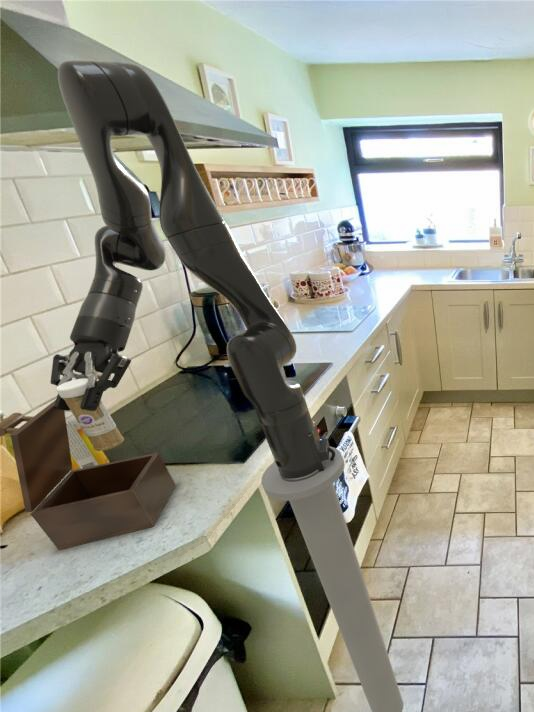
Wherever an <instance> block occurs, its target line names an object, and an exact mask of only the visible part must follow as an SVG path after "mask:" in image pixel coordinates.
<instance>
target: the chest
mask: <svg viewBox="0 0 534 712" xmlns="http://www.w3.org/2000/svg"><path fill="white" fill-rule="evenodd" d="M109 462H110V463H106V464H101V465H96V466H91V467H86V468H81V469H77V470H72V471H70V472H69V473H68V474H67V475H66V476H65V477H64V478H63V479H62V480H61V482H60V483H59V484H58V485H57V486H56V487H55V488H54V489H53V490H52V491H51V492H50V493H49V494H48V495H47V496H46V498H45V499H44V500H43V501H42V502H41V503H40V504H39V505H38V506H37V507H36V508H35V509H34V510H33V511H32V512H30V516H31V517H32V519H34V521H35V522H36V523H37V525H38V526H39V527H40V528H41V530H42V531H43V532H44V533H45V535H46V536H47V537H48V538H49V540H50V541H51V542H52V544H53V545H54V547H56V549H57V550H58V551H61V550H64V549H69V548H72V547H77V546H81V545H84V544H85V545H86V544H89V543H94V542H98V541H101V540H105V539H109V538H113V537H117V536H121V535H126V534H130V533H134V532H138V531H142V530H146V529H149V528H150V529H151V528H154V527H155V525H156V523H157V521H159V518H160V516H161V514H162V513H163V511H164V508H165V507H166V505H167V503H168V501H169V500H170V498H171V496H172V494H173V492H174V490H175V488H176V487H177V484H176V483H175V482H176V481H174V479H173V476H172V475H171V473H170V471H169V470H168V467H167V466H166V464H165V462H164V460H163V459H162V457H161V455H160V453H159V452H155V453H150V454H145V455H140V456H135V457H130V458H125V459H121V460H115V461H109Z"/></svg>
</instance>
